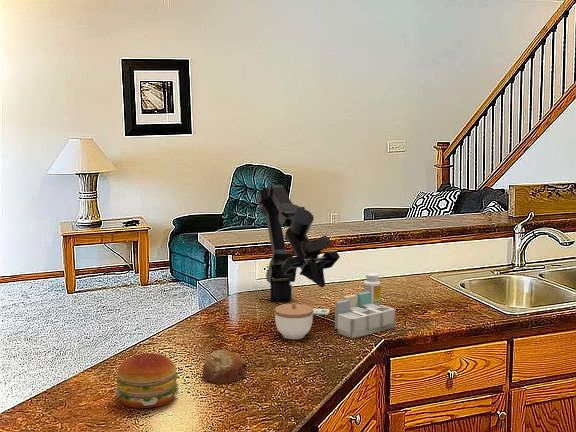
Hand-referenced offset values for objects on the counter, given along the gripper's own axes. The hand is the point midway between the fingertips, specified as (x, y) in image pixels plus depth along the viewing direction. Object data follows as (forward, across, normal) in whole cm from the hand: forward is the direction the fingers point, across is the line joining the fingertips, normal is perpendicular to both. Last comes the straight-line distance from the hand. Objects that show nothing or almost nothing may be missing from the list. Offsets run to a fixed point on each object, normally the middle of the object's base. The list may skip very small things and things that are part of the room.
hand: (323, 286), depth 207 cm
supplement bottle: (+3, +27, +13) cm, 30 cm away
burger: (+22, -66, -6) cm, 70 cm away
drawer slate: (+15, 0, -1) cm, 15 cm away
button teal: (+13, +11, +2) cm, 17 cm away
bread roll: (+21, -46, -4) cm, 50 cm away
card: (+1, +6, +15) cm, 16 cm away
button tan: (+13, +6, +2) cm, 14 cm away
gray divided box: (+17, +6, -1) cm, 18 cm away
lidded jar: (+11, -14, +5) cm, 19 cm away
